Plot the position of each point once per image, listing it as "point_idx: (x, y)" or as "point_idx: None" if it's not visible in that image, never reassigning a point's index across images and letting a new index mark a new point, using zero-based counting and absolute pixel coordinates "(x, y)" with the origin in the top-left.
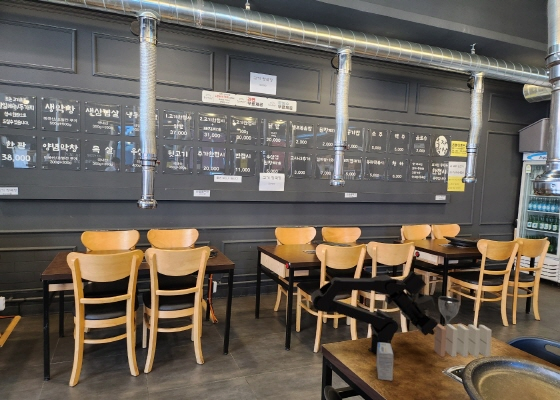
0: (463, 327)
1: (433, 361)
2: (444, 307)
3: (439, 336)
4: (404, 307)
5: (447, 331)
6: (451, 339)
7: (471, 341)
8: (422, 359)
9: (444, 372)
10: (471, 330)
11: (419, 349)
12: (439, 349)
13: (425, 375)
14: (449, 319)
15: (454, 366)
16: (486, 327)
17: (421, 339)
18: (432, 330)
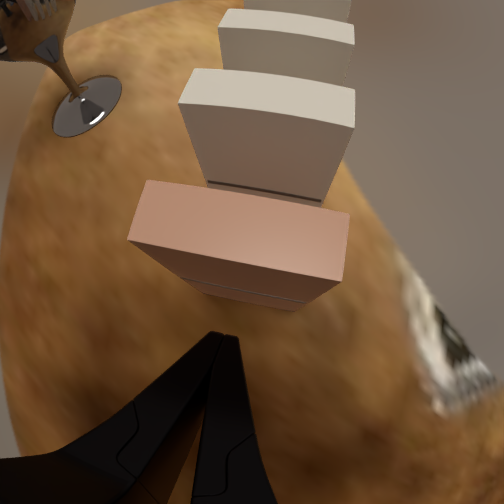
0: (299, 24)
1: (343, 401)
2: (9, 19)
3: (267, 288)
4: None
5: (223, 149)
6: (303, 186)
7: None
8: (306, 451)
9: (448, 404)
10: (290, 10)
11: None
12: (277, 304)
13: (438, 498)
14: (59, 46)
15: (412, 309)
16: None
17: (67, 265)
18: (245, 382)
